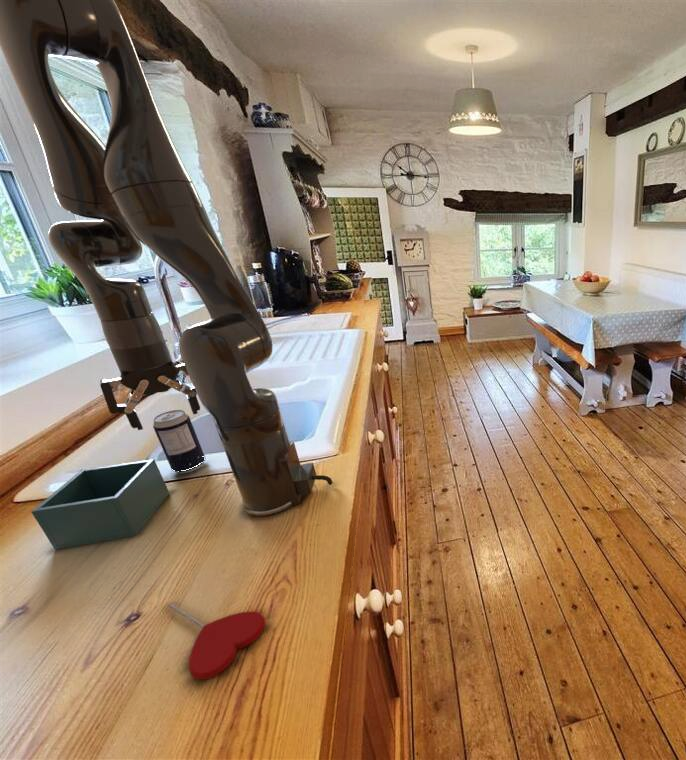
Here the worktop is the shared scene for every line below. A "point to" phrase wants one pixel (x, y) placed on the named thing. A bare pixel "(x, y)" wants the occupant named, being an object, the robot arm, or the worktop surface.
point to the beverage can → (178, 440)
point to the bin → (102, 504)
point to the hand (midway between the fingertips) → (168, 420)
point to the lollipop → (221, 641)
